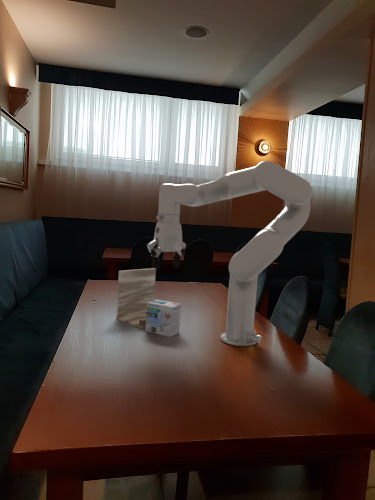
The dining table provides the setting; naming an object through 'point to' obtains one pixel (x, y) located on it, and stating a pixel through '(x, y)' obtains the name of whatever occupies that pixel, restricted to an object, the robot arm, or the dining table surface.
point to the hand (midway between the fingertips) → (166, 267)
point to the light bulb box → (163, 317)
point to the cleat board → (135, 295)
